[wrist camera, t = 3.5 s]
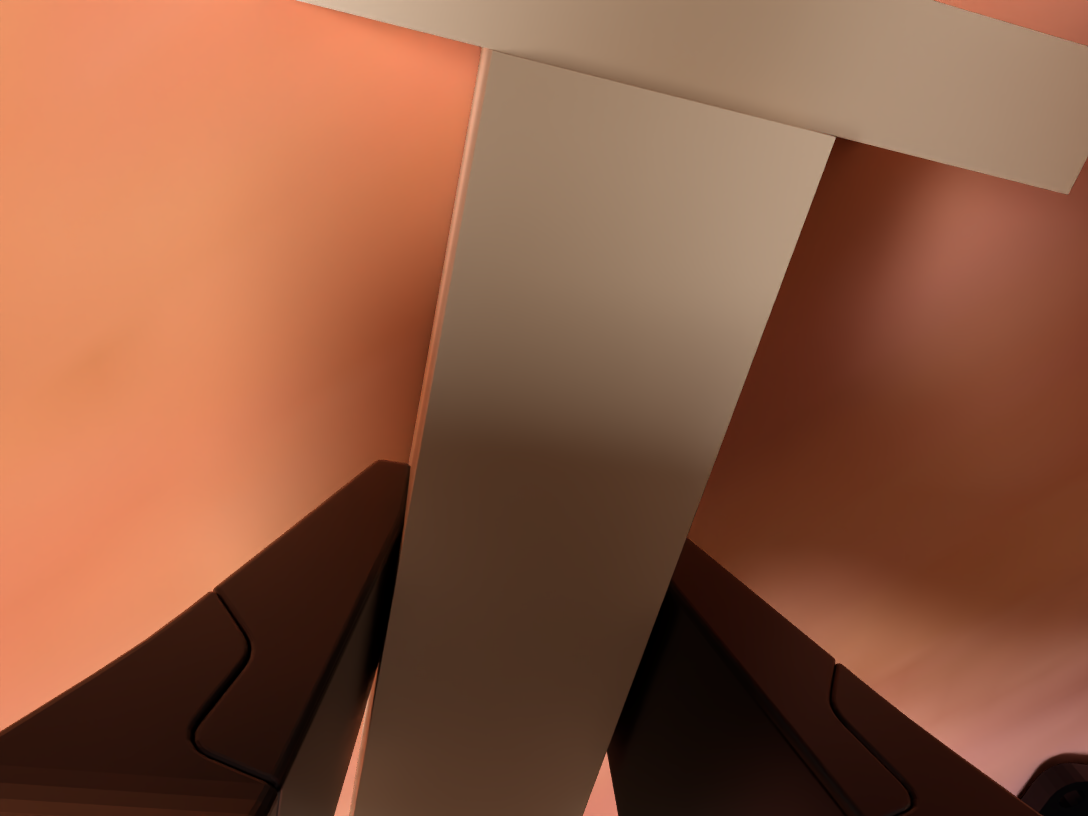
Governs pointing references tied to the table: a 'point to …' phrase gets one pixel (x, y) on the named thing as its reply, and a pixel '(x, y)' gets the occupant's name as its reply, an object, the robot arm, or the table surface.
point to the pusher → (629, 334)
